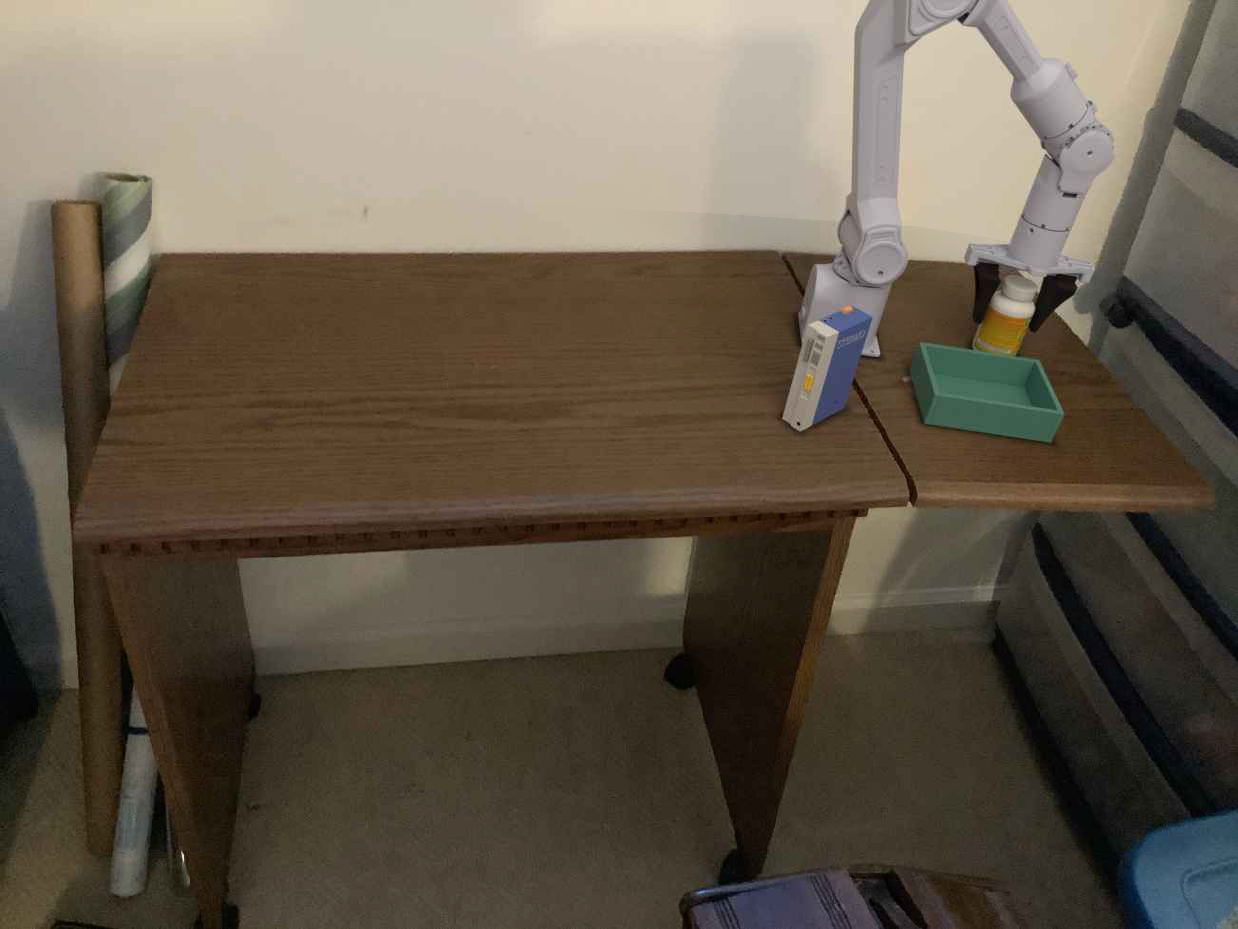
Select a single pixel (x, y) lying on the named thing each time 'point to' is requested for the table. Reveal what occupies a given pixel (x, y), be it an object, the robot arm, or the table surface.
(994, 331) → the supplement bottle
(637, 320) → the table surface
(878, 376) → the table surface
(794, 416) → the walkman
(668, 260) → the table surface
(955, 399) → the tray
